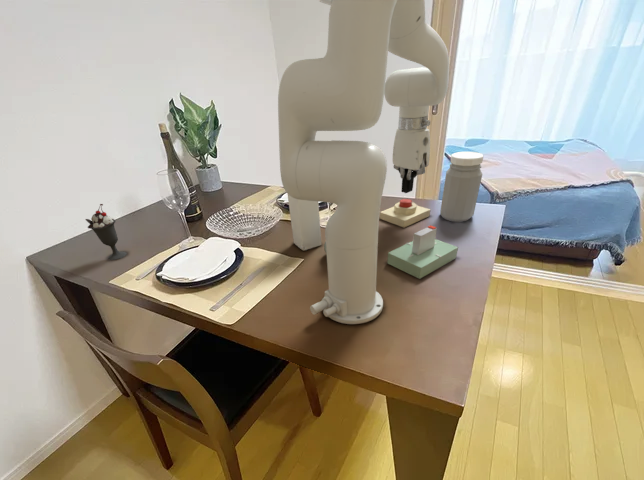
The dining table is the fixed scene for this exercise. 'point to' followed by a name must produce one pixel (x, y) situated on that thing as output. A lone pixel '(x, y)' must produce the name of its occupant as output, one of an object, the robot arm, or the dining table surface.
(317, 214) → the milk
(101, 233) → the sundae
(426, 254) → the panel
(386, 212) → the button box
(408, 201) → the button
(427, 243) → the grey rectangular block
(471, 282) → the dining table surface
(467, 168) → the jar
